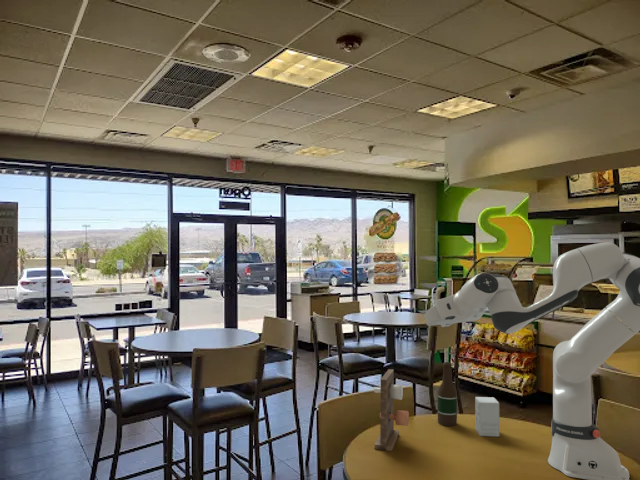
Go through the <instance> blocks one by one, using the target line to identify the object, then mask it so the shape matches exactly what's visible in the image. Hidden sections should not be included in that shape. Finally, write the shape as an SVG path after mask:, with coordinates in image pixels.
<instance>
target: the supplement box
mask: <svg viewBox="0 0 640 480" xmlns="http://www.w3.org/2000/svg"><path fill="white" fill-rule="evenodd" d="M474 402H475V403H474V404H475V405H474V408H475V411H474V412H475V415H474V417H475V422H474V423H475V425H474V426H475V430H476V432H477V433H478V435H479V437H500V402H499V401H498V400H497V399H496V398H495V397H493V396H492V397H490V396H489V397H488V396H475V398H474Z"/></svg>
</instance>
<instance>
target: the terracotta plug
mask: <svg viewBox="0 0 640 480" xmlns="http://www.w3.org/2000/svg"><path fill="white" fill-rule="evenodd" d="M409 417H410V414H409V411H408V410H402V409H401V410H400V409H396V411H395V414H389V419H393V420H394V422H395V425H397V426H404V427H408V425H409Z"/></svg>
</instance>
